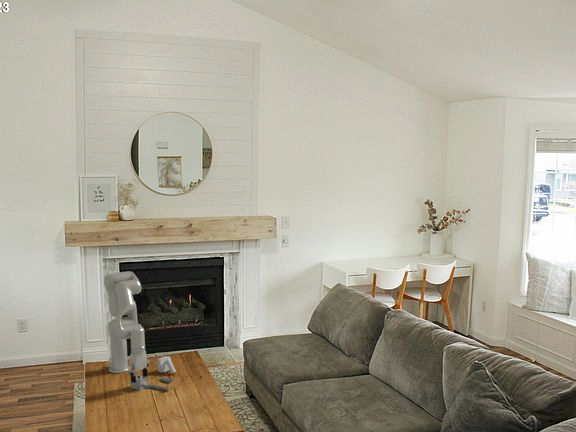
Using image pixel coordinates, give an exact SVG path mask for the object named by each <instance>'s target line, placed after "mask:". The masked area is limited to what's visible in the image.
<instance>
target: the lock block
mask: <svg viewBox="0 0 576 432" xmlns="http://www.w3.org/2000/svg"><path fill="white" fill-rule="evenodd" d="M135 376H136V383H133V382H131V381H130V389H133V390H137V391H143V390H144V389H147V388H146V385H148V377H146V376H143V375H140V374H135Z"/></svg>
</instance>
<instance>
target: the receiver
mask: <svg viewBox="0 0 576 432" xmlns="http://www.w3.org/2000/svg"><path fill="white" fill-rule="evenodd" d="M159 379H160V381H162V382H163V383H167V384H166V385H165V386H162V385H156V384H147V385H146V388H145V389H154V390H159V391H163V392H167V393H169V392H170V391H172V390H174V389H175V388H177V387H178V386H181V385H182V383H181V382H182V378H180V377H178V378H176V379H169V378H165V377H163V376H160V378H159Z"/></svg>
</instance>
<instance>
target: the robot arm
mask: <svg viewBox="0 0 576 432" xmlns="http://www.w3.org/2000/svg"><path fill="white" fill-rule="evenodd" d="M103 286H104V289H105V291H106V293H107V299H108V300H107V301H108V311H109V312H108V313H109V315H110V317H112V318H113V317H115V318H114V319H111V320H110V321H109V322H108V323H107V329H108V330H107V331H108V335H109V341H110V342H109V343H110V345H109V346H110V360H108V361H107V363H106V364H107V366H109V368H108V372H110V373H111V374H112V373H113V374H121V373H125V372H127V373H128V375H129V376H130V383H131V382H133V383H136V375H137V374H136V373H137V372H139V371H142V376H146V377H147V378H148V375H149V374H148V372H149V371H148V369H149V367H150V359H148V357H147V351H146V343H145V342H146V341H145V338H146V337H145V328H144V327H143V326H142V325H141V324H140V323H139V320H138V310H137V304H136V301H135V300H134V296H133V295H138V294H140V293H141V292H142V284H141V281H140V280H139V278H138V277H137V276H136V274H135V273H134V272H133V271H121V272H113V273H108V274H106V275H105V276H104V278H103ZM123 316H125V317H123ZM129 339H130V354H129V364H128V344H127V343H128V342H127V340H129Z"/></svg>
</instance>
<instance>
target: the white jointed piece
mask: <svg viewBox="0 0 576 432" xmlns="http://www.w3.org/2000/svg"><path fill="white" fill-rule="evenodd" d="M156 366H157V371H158V372H159V373H166V372H170V374H171V375H174V374H175V373H177V371H176V369H175V366H174V364H173V362H172V358H171V356H166V355H165V356H163V357H160V358H157V360H156Z"/></svg>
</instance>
